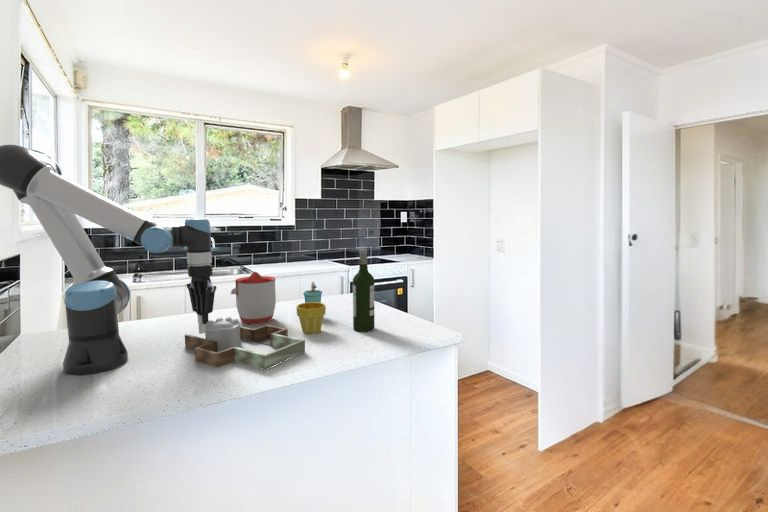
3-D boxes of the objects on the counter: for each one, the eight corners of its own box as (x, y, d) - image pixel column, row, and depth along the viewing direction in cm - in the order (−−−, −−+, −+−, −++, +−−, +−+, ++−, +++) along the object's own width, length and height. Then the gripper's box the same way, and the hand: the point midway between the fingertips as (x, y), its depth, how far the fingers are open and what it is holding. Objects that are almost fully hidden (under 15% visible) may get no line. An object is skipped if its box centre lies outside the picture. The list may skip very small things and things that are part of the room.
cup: (325, 321, 160) (325, 284, 159) (306, 322, 158) (305, 285, 156) (320, 312, 173) (319, 278, 172) (302, 314, 171) (301, 279, 169)
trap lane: (167, 352, 125) (166, 340, 124) (240, 329, 149) (240, 319, 148) (248, 377, 106) (247, 363, 106) (317, 346, 130) (317, 335, 129)
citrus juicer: (230, 318, 164) (227, 270, 162) (273, 314, 171) (272, 267, 169) (233, 328, 150) (230, 276, 148) (280, 323, 157) (278, 273, 155)
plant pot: (320, 336, 141) (319, 309, 140) (292, 334, 143) (291, 307, 142) (329, 328, 151) (329, 302, 150) (303, 326, 153) (303, 301, 152)
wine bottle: (377, 330, 147) (377, 249, 144) (357, 333, 144) (356, 250, 141) (370, 325, 154) (369, 247, 151) (350, 327, 151) (349, 248, 148)
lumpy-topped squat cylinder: (204, 353, 124) (202, 326, 123) (209, 340, 137) (208, 315, 136) (239, 350, 127) (238, 323, 126) (241, 337, 140) (240, 313, 139)
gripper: (222, 264, 135) (225, 332, 137) (198, 262, 141) (201, 327, 144) (202, 267, 128) (206, 338, 131) (177, 264, 135) (182, 332, 137)
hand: (203, 332), depth 137 cm, fingers closed
